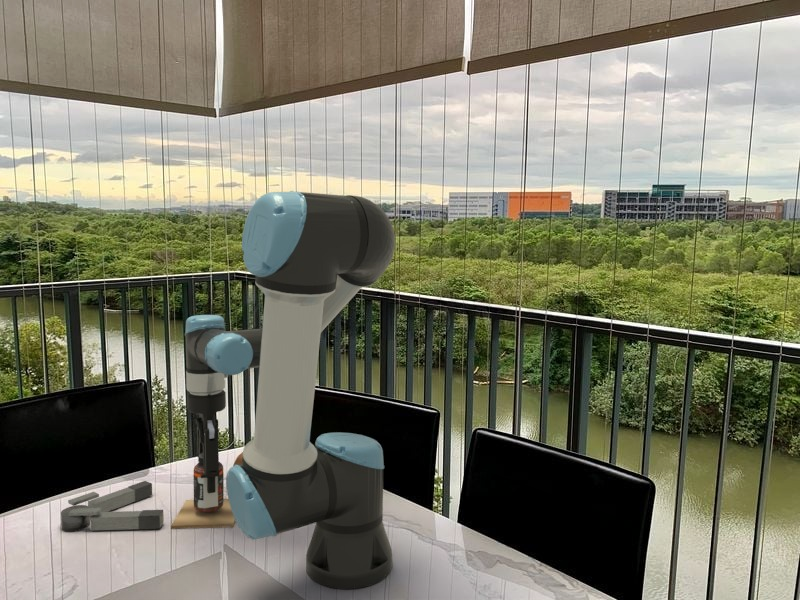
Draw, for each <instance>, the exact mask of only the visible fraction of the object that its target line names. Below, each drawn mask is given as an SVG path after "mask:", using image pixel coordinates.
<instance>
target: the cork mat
mask: <svg viewBox="0 0 800 600" xmlns="http://www.w3.org/2000/svg"><path fill="white" fill-rule="evenodd" d="M235 523H236V520H235V518H234V515H233V513H232V510H231V506H230V503H229V499H228V498H224V499H223V506H222V507H221V508H220V509H218V510H216V511H212V512H200V511H197V510H196V509H195V508H194V499H186V500H185V502H184V503H183V505H182V507H181V508H180V510H179V511H178V513H177V514H176V517H175V518H174V519H173V521H172V523H171V525H170V529H171V530H174V529H175V530H177V529H182V530H183V529H208V528H210V529H211V528H234V525H235Z"/></svg>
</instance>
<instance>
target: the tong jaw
mask: <svg viewBox="0 0 800 600" xmlns="http://www.w3.org/2000/svg"><path fill="white" fill-rule="evenodd" d="M151 496H153V483H152V482H149V481H147V480H143V481H140V482H137V483H134V484H132V485H129V486H128V487H125V488H122V489H119V490H115V491H114V492H110V493H108V494H105V495H102V496H100V494H99V493H97V492H95V491H92V492H88V493H86V494H83V495H80V496H76V497H74V498H72V499H71V498H70V499H68V500H67V503H68V504H69V505H71V506H75V505H81V504H82V503H85V502H87V506H88V507H89V508H101V511H100V512H112V511H113V510H117V509H118V508H121V507H124V506H126V505H129V504H131V503H135V502H138V501H141V500H143V499H146V498H148V497H151ZM92 516H93V515H91V517H92Z"/></svg>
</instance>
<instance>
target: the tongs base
mask: <svg viewBox="0 0 800 600" xmlns="http://www.w3.org/2000/svg"><path fill="white" fill-rule="evenodd" d="M100 511H101V508H89V507H88V505H86V504H77V505H74V506H73V505H71V506H68V507H66V508H64V509H62V510H61V511H60V524H61V525H60V526H61V531H63V532H65V533H73V532H74V533H76V532H78V531H82V530H85V529H86V528H88V527H89V526H90V531H115V530H116V531H119V530H120V531H121V530H124V531H125V530H155V529H156V530H157V529H158V530H159V529H160V528H162V526H163V524H164V521H165V520H164V509H142V510H128V511H125V510H124V511H108V512H100ZM92 515H93V516H92Z"/></svg>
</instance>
